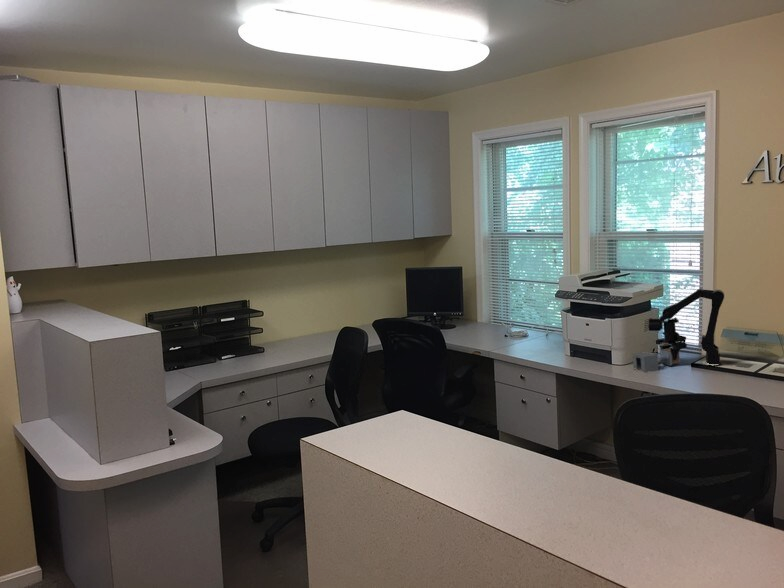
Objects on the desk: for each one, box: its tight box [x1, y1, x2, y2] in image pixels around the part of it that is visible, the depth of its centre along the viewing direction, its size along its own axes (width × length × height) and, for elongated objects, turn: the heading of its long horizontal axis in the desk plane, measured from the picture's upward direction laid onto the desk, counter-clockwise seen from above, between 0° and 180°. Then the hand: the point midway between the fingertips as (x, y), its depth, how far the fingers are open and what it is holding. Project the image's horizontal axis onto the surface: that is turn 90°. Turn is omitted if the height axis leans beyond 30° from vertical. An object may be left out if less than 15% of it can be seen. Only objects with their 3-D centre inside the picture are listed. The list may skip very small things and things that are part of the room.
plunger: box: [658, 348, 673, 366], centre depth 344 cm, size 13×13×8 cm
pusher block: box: [663, 347, 681, 364], centre depth 344 cm, size 5×6×7 cm
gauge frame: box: [632, 351, 663, 373], centre depth 343 cm, size 14×18×8 cm
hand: (671, 359), depth 344 cm, fingers closed on pusher block, 5 cm apart
